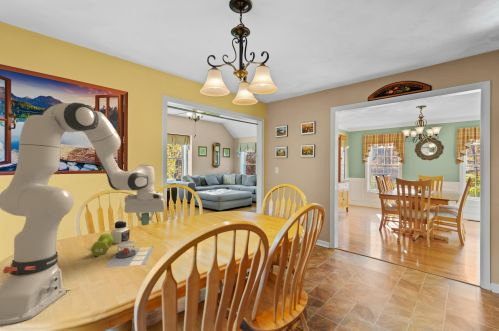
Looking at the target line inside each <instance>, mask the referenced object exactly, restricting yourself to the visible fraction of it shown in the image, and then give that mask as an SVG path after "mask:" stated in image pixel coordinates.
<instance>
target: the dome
mask: <svg viewBox="0 0 499 331" xmlns="http://www.w3.org/2000/svg"><path fill="white" fill-rule="evenodd" d="M124 248H130V252H131V248H135V242H134V241H133V240H129V241H124V242H120V243H118V244H117V248H116V249H117V250H116V253H118V252H119V250H120V249H124Z"/></svg>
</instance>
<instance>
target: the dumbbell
mask: <svg viewBox="0 0 499 331" xmlns="http://www.w3.org/2000/svg"><path fill="white" fill-rule="evenodd" d="M113 241H114V239H113V237H112V235H111V233H103V234H101V235H100V236H99V238H98V239H97V241H96V242H94V243H93V245H92V246H91V248H90V251H91V254H92V255H93V257H99V256H103V255H105V254H107V252H108V251H109V248H110V247H111V246H112V244H114V243H113Z"/></svg>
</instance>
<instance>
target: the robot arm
mask: <svg viewBox="0 0 499 331" xmlns="http://www.w3.org/2000/svg"><path fill="white" fill-rule="evenodd" d="M65 132H66V133H77V132H83V134H85V135H86V138H88V140H89V141H90V143H91V145H92V146H93V148H94V150H95V156H96V157H97V160H98V161H99V164H100V165H101V167H102V169H103V171H104V173H105V175H106V177H107V182H108V184H109V186H110V188H111V189H113V190H115V191H133V192H134V191H136V194H128V195H126V196H124V208H123V209H124V210H123V212H124V213H126V214H129V213H131V214H135V215H136V217H137V221H138V222H141V216H140V214H141V213H150V214H151V215H150V216H149V222H150V221H151V222H152V221H153V217H154V215H155V213H165V211H166V201H165V199H164V198H163V197H164V193H162V192H158V191H156V189H155V178H156V176H155V175H156V174H155V169H154V167H153V166H152V165H149V164H139V165H138V166H137V167H136V168H135V169H133V170H131V171H127V170H123V169H120V167H119V166H118V164H117V162H116V160H115V158H114V153H116V152H118V150H119V149H120V148H121V143H122V140H121V137H120V135H119V133H118V132H117V130H116V129H115V128H114V125H113V124H112V123H111V122H110V120H109V119H108V118H107V117H106V115H105V114H104V113H103V112H101V111H99V110H94V109H93V108H92V107H91V106H89V105H87V104H85V103H83V102H71V103H70V102H69V103H67V102H62V103H57V104H52V105H49V106H47V107H46V108H44V109H43V110H42V112H40V114H36V115H34V114H33V115H31V116H28V117H26V119H25V120H24V122H23V125H22V128H21V132H20V136H19V143H18V155H17V164H16V168H15V172H14V175H13V176H12V179H11V181H10V183H9V185H8V186H7V187H6V188H5V189H4V190H2V191H1V192H0V210H2V211H3V212H5V213H8V214H10V215H12V216H18V217H19V216H20V217H25V221H24V225H23V227H22V229H21V231H19V232H18V233H17V234H16V235H15V237H14V239H13V240H14V241H13V259H12V261H11V263H10V266H5V267H4V268H3V269H2V271H3V272H2V273H3V274H8V275H7V278H6V279H5V280H3V281H4V282H3V283H1V285H0V326H2V325H9V324H14V323H18V322H23V321H27V320H30V319H32V318H34V317H35V316H37V315H38V314H39V313H41V312H42V311H43V310H45V309H47V307H49V306H51V305H52V304H53V303H54V302H56V301H57V300H59V299H60V298H61V297H63V296H64V295H65V294H67V288H64V285H63V276H62V275H63V274H62V269H61V268H60V267H59V266H58V264H57V263H58V261H59V260H58V259H59V254H58V251H57V234H58V230H59V226H60V224H61V221H62V220H63V218H64V217H65V216H66V215H68V213H69V212H71V210H72V209H73V206H74V203H75V202H74V196H73V194H72V193H71V192H70V191H68V190H67V189H63V188H61V187H58V186H52V185H51V186H48V183H49V181H50V179H51V178H52V176H53V175H54V174H55V173H57V172H58V171H59V169H60V162H61V147H62V137H63V136H64V134H65Z"/></svg>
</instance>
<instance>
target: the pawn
mask: <svg viewBox="0 0 499 331" xmlns="http://www.w3.org/2000/svg"><path fill="white" fill-rule="evenodd" d="M140 214H141V216H140V217H141V221H140V224H141V226H148V225H150V221H149V217H150V212H144V213H140Z"/></svg>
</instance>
